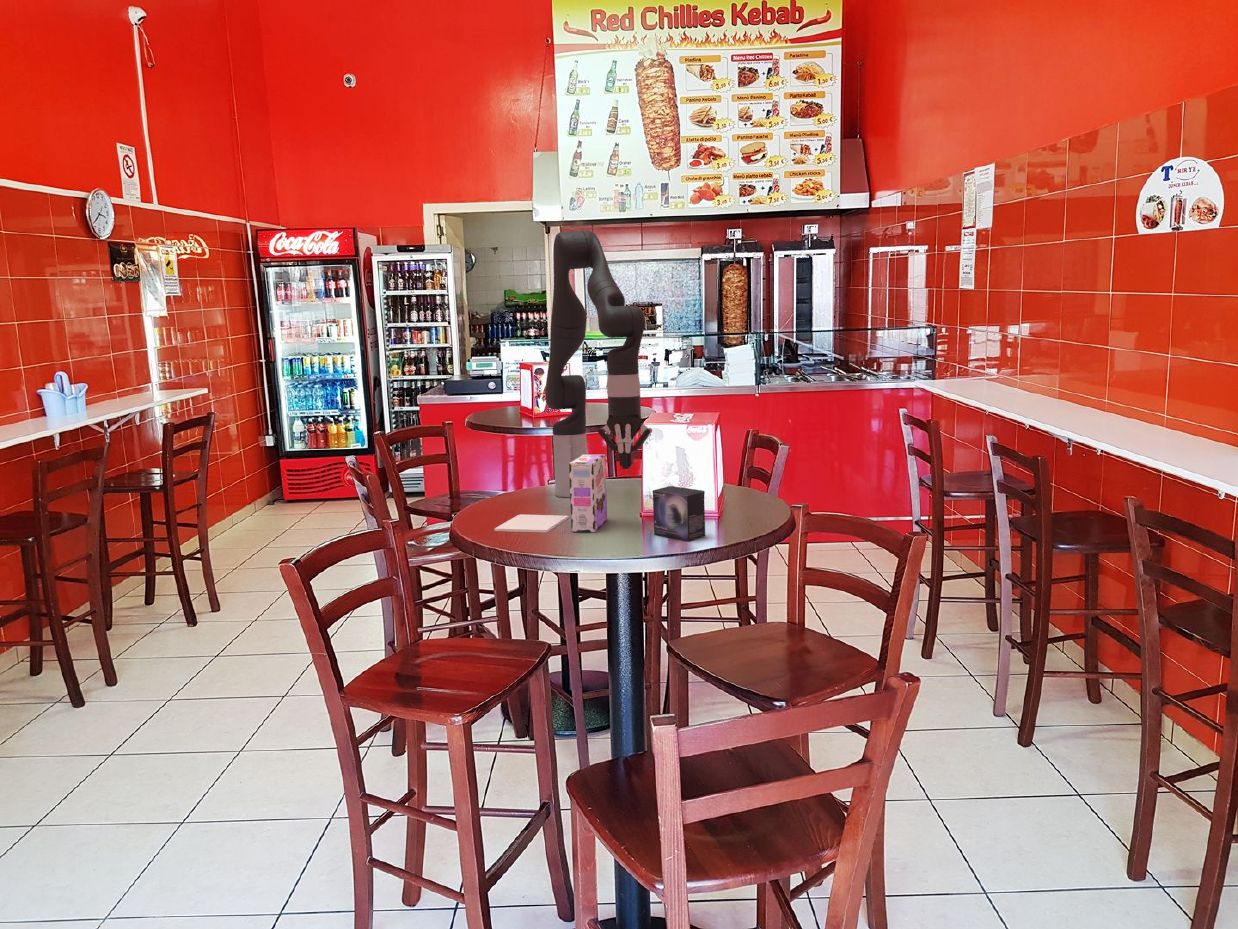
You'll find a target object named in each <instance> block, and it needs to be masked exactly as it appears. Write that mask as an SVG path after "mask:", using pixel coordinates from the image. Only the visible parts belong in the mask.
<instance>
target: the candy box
mask: <svg viewBox="0 0 1238 929" xmlns="http://www.w3.org/2000/svg"><path fill="white" fill-rule="evenodd" d="M569 475H570V497H569V498H570V523H571V524H570V528H571V530H570V531H571V532H575V533H576V532H577V533H595V532H597V531H598V530H599V529H600V528H601V527H602V526H603V525H604V524H605V523H606V521H608V504H607V503H608V502H607V500H608V499H607V478H606V477H607V476H606V454H602V453H601V454H599V453H598V454H587V455H582V456H580V457H579V458H577V459H575V460H574V461H572V462H570V463H569Z"/></svg>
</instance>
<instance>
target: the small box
mask: <svg viewBox="0 0 1238 929" xmlns="http://www.w3.org/2000/svg"><path fill="white" fill-rule="evenodd" d="M652 508H653V509H652V511H653V535H654V536H658V537H663V538H664V537H665V538H670V539H674V540H678V541H684V542H691V541H694V540H699V539H702V538H704V537H706V513H705V512H706V511H705V490H702V489H695V488H687V487H681V486H675V485H674V486H673V485H668V486H664V487H661V488H657V489H653V490H652Z"/></svg>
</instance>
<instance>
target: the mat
mask: <svg viewBox="0 0 1238 929" xmlns="http://www.w3.org/2000/svg"><path fill="white" fill-rule="evenodd" d="M569 518H570V517H569V515H557V514H556V515H554V514H553V515H552V514H551V515H550V514H548V515H546V514H517V515H516V516H514V517H512V518H510V519H509V520H507V521H505V522H503V523H502V524H500V525H498V526H497V527H494V532H511V533H513V532H514V533H520V532H521V533H545V534H546V533H548V532H550V531H551V530H553V529H555V528H556V527H558V526H559V525H560V524H562V523H564V522H565V521H566V520H568V519H569Z"/></svg>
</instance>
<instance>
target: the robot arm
mask: <svg viewBox="0 0 1238 929" xmlns="http://www.w3.org/2000/svg"><path fill="white" fill-rule="evenodd" d="M552 250H553V251H552V254H553V255H552V258H553V259H552V260H553V262H552V263H553V264H552V265H553V291H552V292H553V294H552V295H553V296H552V305H551V306H552V308H551V316H550V318H551V319H550V332H549V333H550V334H549V338H550V340H549V359H548V360H549V361H548V368H547V372H546V373H547V375H546V380H545V390H544V391H545V394H544V395H545V397H544V398H545V402H546V405H547V407H548V408H549V409H550V410H558V411H559V410H571V409H572V411H571V413H570V414H569V415H568V416H567V417H565V418H562V420H559V421H557V422H555V423H553V425H552V443H553V466H554V470H553V471H554V489H555V490H554V492H555V497H559V498H570V475H569V463H570V462H572V461H574V460H575V459H577V458H579V457H580V456H582V455H588V451H587V450H588V448H587V447H588V446H587V409H586V408H587V406H586V405H587V387H586V381H585V378H584V377H583V376H582V375H581V374H579V375H578V374H572V375H569V374H567V375H563V372H564V369H565V367H566V366H567V364H568V362H569V361H570V360H571V358H572V357H573V356H574V355H575V353H576V352H577V351H578V350H579V348H580V347H581V346H582V344H583V342H584V340H585V338H586V331H587V330H586V329H587V320H588V319H587V317H588V316H587V311H586V309H585V307H584V305H583V303H582V301H581V300H580V298H579V297H578V295H577V294H576V292H575V291H574V289H573V287H572V285H571V283H570V282H571V281H570V271H571V270H580V269H588V268H591V269H592V272H591V273H590V276H589V277H588V280H587V284H586V286H587V287H586V288H587V293H588V294H587V295H588V296H589V298H590V300H591V302H592V304H593V306H594V307H595V309H596V314H597V319H598V320H597V323H598V329H599V331H600V333H601V334H602V336H604V337H606V338H610V339H611V338H612V339H613V338H614V339H615V338H616V339H617V338H625V341H624V343H623V345H621V346H619V347H615V348H612V349H610V350H609V351H608V352H607V382H606V383H607V385H606V386H607V389H606V394H607V409H608V410H607V414H608V417H607V420H606V425H604V426H602V428H600V429H598V431H597V432H598V433H597V434H598V435H599V436H600V437H601V438H602V439H603V441H604V442H605V443H606V444H607V446H608V447H609V448H610V449H611V450H612V451H615V452H617V453H618V456H619V458H618V459H619V460H618V462H619V465H620V468H621V469H622V470H630V469H631V467H632V466H633V464H634V452H637V451H638V450H640V448H641V447H642V446H643V445H644V443H645V442H646V441H647V440H648V438H649V437H650V436H651V434H652V433H653V429H652V428H651V427H648V426H647V425H645V424H644V420H643V418H642V409H641V406H642V405H641V383H640V382H641V381H640V374H639V355H640V354H639V353H640V348H641V343H642V338H643V336H644V331H645V326H646V318H645V317H646V316H645V314H644V311H643V310H642V309H641V308H640V307H639V306H637V305H626V304H625V303H626V299H625V296H624V294H623V293H622V291H621V289H620V287H619V285H618V284H617V283H616V281H615V279H614V277H613V275H612V273H611V270H610V267H609V264H608V261H607V258H606V255H605V252H604V250H603V247H602V245H601V241H600V239H599V237H598V236H597V234H596V233H595V232H593V231H591V230H585V229H583V230H569V231H560V232H558V233H557V234H556V235H555V237H554V241H553V249H552ZM639 431H640V437H639V438H638V439H637V441H636V442H635V436H637V434H638V433H639ZM611 433H612V434H613V436H614V437H615V438H616V440H614V438H613V437H612V435H611ZM634 442H635V443H634Z"/></svg>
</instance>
